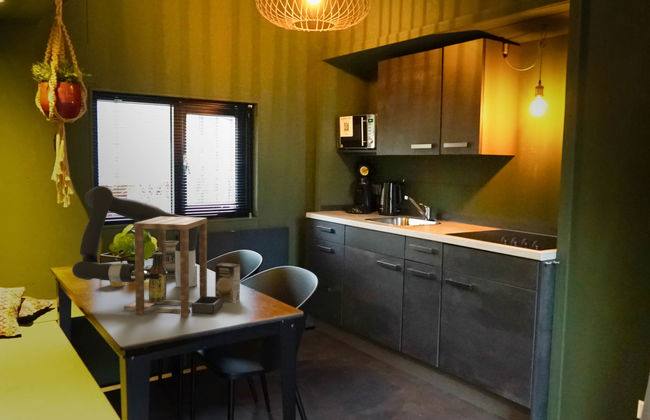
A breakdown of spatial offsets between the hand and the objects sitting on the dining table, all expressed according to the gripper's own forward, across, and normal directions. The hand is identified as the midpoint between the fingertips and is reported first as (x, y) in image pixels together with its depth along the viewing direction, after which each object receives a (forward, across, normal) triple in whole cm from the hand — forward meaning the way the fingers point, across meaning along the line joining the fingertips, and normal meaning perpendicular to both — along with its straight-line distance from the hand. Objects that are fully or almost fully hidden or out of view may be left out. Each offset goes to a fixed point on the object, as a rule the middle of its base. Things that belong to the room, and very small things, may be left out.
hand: (162, 274), depth 224 cm
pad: (-9, 0, +14) cm, 17 cm away
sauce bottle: (-2, 0, +11) cm, 11 cm away
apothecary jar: (-19, +58, +14) cm, 62 cm away
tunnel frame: (+1, 0, +14) cm, 14 cm away
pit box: (+19, 0, +13) cm, 23 cm away
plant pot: (-36, +34, +14) cm, 52 cm away
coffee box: (+23, +14, +14) cm, 30 cm away
